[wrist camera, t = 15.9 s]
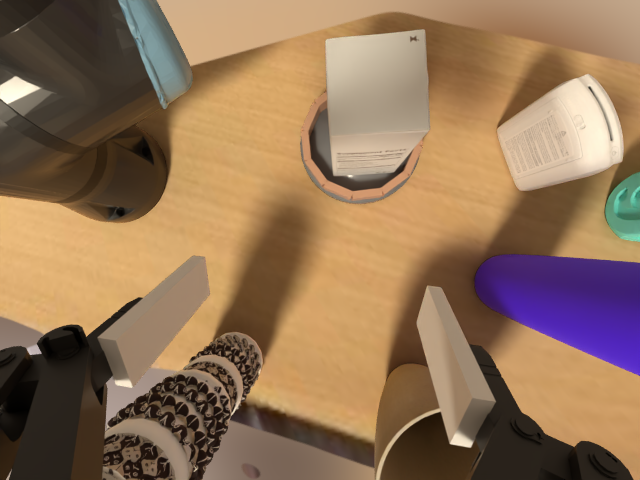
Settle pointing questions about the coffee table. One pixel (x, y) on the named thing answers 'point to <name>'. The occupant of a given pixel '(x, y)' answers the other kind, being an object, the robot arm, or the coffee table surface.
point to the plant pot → (416, 432)
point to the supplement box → (376, 100)
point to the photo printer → (562, 136)
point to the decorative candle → (183, 415)
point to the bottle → (569, 301)
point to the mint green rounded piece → (625, 209)
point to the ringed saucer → (351, 186)
